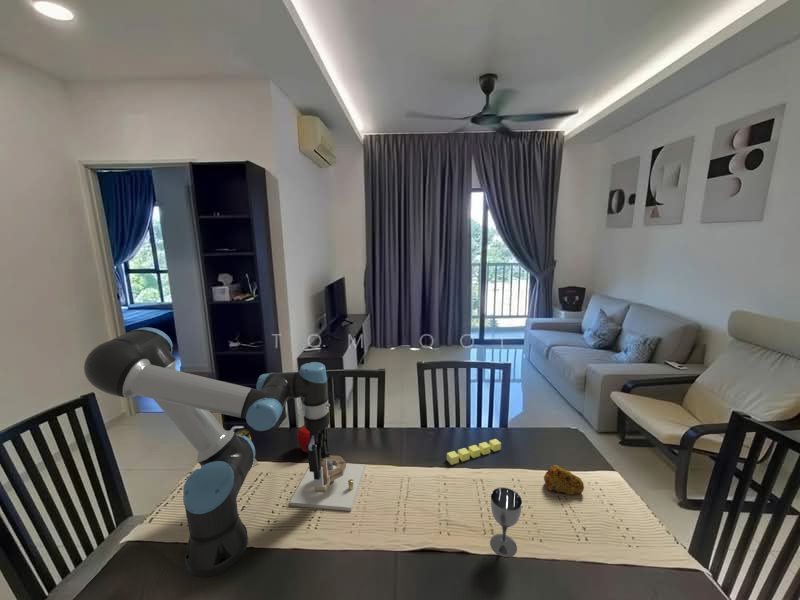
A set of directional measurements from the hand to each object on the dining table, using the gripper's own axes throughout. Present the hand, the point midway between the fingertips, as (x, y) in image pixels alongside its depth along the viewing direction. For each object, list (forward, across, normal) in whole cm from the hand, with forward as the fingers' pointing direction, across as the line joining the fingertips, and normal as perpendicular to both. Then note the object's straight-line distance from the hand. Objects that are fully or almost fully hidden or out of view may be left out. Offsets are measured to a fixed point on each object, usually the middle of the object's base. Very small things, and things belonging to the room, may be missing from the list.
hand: (321, 481), depth 108 cm
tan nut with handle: (+3, +6, 0) cm, 6 cm away
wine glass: (+9, -9, -55) cm, 56 cm away
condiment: (+8, +16, +36) cm, 41 cm away
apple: (+8, +26, +14) cm, 31 cm away
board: (+8, +8, 0) cm, 12 cm away
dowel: (+8, +6, -8) cm, 13 cm away
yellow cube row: (+9, +31, -49) cm, 59 cm away
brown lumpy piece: (+9, +15, -78) cm, 80 cm away
